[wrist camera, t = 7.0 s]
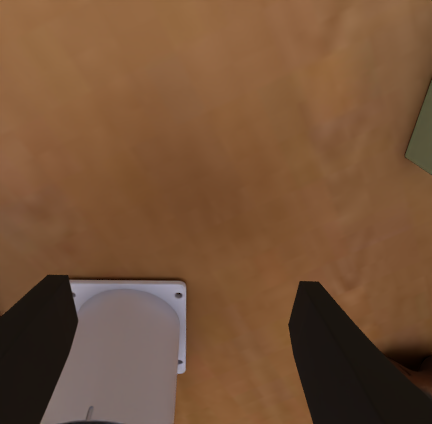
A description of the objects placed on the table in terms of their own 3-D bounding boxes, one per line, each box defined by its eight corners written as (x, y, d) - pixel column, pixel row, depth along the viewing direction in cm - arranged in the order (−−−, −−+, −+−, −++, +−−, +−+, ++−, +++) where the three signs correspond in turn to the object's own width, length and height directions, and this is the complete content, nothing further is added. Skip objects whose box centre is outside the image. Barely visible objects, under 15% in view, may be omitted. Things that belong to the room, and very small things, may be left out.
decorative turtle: (319, 349, 27) (371, 462, 19) (497, 324, 27) (609, 422, 20) (311, 421, 31) (351, 534, 24) (465, 397, 32) (547, 499, 25)
